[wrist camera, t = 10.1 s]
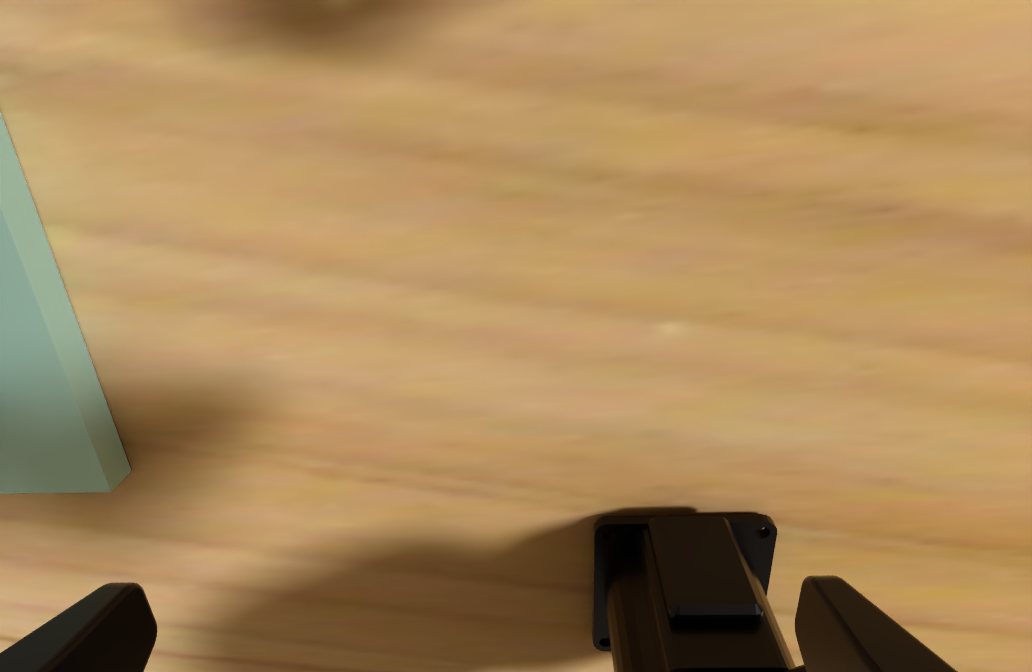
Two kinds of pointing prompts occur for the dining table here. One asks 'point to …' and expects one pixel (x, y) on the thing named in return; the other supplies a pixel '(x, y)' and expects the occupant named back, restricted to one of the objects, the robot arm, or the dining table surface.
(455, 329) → the dining table surface
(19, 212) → the header board
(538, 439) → the dining table surface
